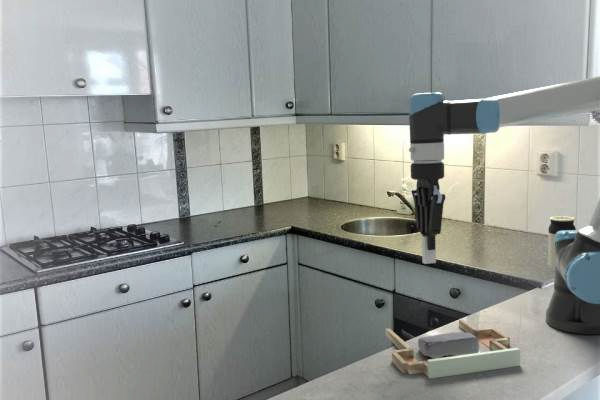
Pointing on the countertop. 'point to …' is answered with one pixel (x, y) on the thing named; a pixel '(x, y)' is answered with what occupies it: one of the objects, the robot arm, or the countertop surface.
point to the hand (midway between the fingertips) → (429, 262)
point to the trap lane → (461, 363)
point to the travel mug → (556, 225)
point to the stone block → (448, 344)
